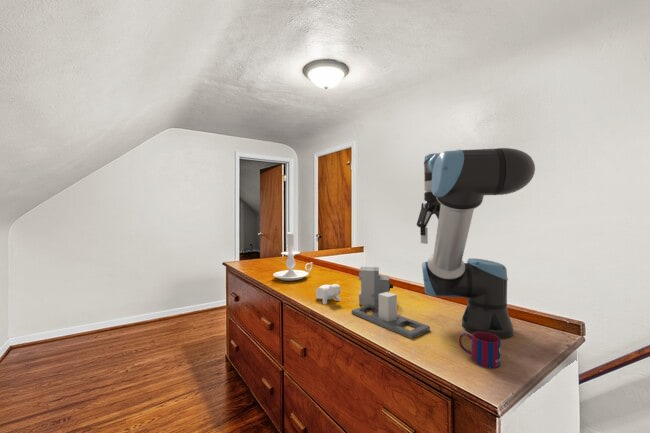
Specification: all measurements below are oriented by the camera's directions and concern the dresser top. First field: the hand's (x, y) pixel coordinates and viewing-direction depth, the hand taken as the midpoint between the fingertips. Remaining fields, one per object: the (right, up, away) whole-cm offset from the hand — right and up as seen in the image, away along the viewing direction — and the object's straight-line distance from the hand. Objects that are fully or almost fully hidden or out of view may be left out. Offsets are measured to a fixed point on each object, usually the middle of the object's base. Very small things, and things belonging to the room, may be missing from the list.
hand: (433, 242), depth 123 cm
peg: (-23, -28, -16) cm, 39 cm away
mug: (-4, -28, -44) cm, 52 cm away
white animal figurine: (-44, -27, +7) cm, 52 cm away
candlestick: (-64, -26, +50) cm, 85 cm away
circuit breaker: (-23, -27, +4) cm, 36 cm away
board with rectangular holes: (-23, -28, -17) cm, 39 cm away
